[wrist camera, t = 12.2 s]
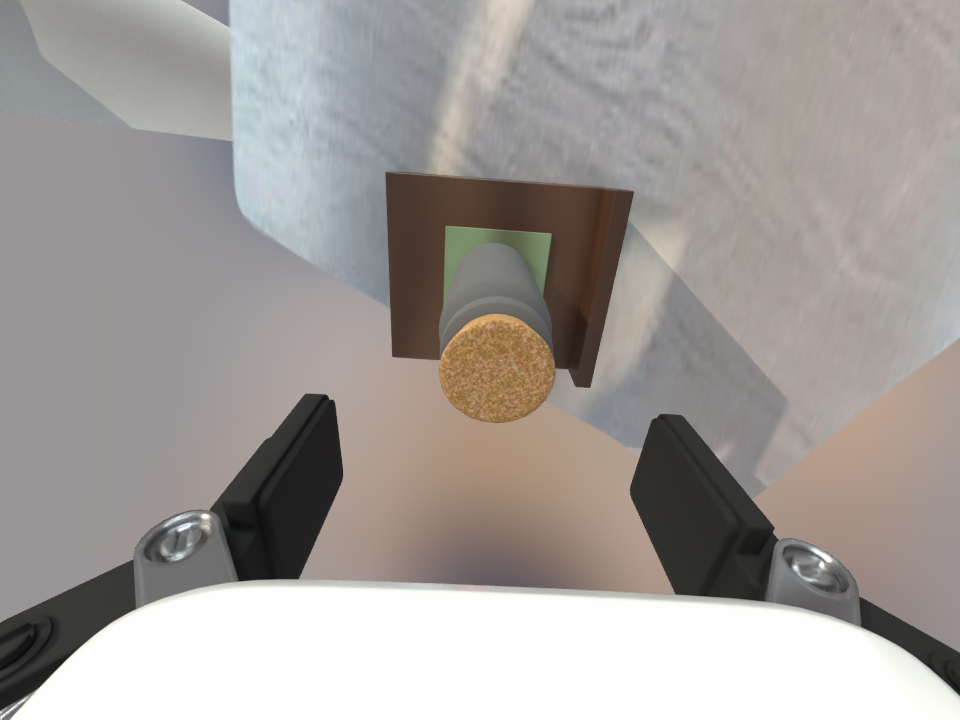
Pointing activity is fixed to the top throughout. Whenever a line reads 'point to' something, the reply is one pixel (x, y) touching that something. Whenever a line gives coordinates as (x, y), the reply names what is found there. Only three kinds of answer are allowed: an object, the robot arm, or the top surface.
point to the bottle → (495, 337)
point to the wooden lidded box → (513, 222)
